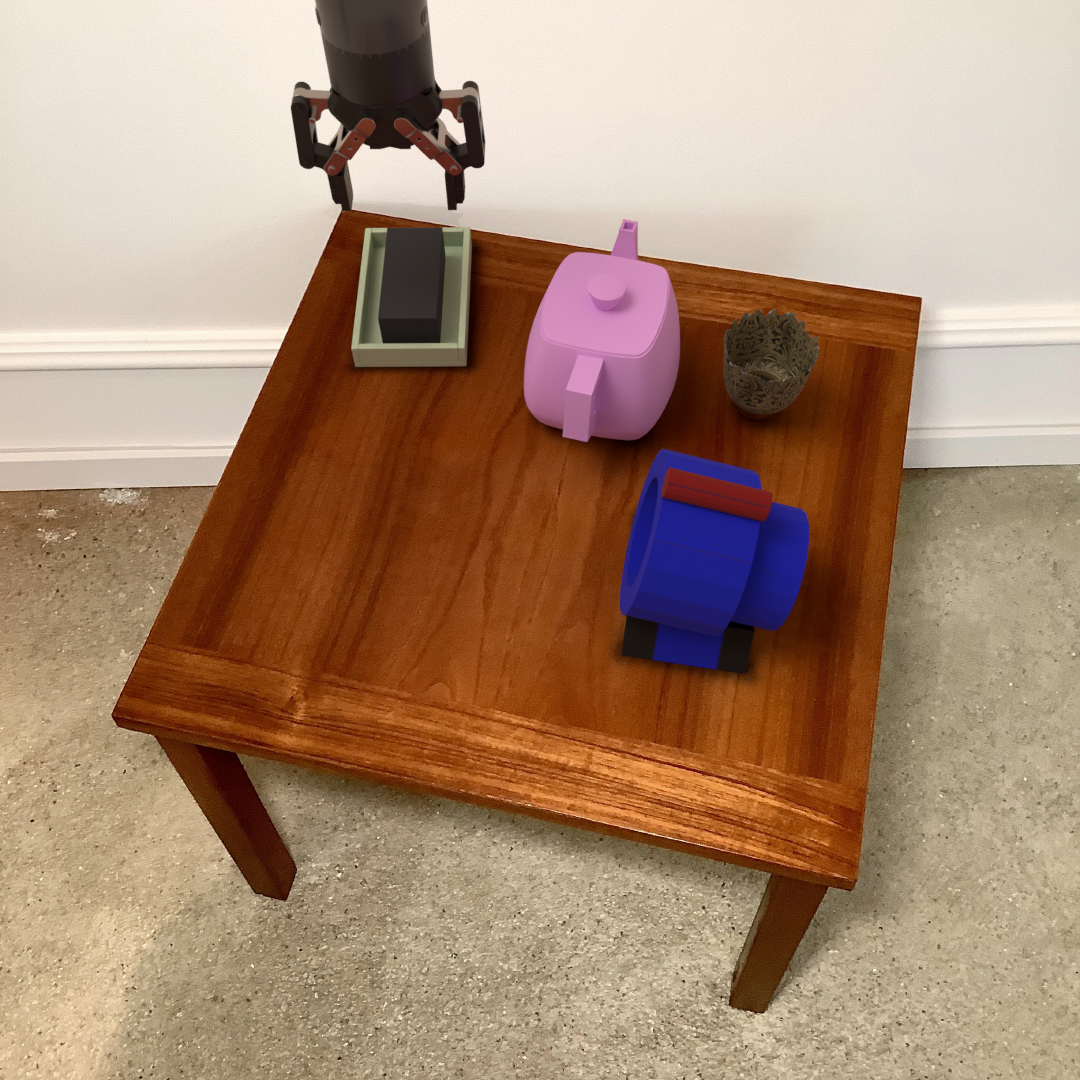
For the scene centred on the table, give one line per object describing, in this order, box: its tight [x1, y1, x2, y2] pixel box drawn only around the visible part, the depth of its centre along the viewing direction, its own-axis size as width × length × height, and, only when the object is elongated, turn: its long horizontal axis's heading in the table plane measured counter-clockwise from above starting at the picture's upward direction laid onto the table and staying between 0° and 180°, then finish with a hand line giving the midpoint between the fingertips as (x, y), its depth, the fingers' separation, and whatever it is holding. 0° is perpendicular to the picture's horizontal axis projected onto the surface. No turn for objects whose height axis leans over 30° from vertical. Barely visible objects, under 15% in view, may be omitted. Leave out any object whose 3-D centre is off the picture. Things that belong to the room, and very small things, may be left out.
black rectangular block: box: [378, 227, 446, 344], centre depth 97 cm, size 11×5×4 cm, turn 0°
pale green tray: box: [350, 226, 473, 368], centre depth 98 cm, size 10×15×2 cm, turn 0°
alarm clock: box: [619, 448, 810, 675], centre depth 76 cm, size 12×12×15 cm
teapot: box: [523, 218, 681, 443], centre depth 88 cm, size 20×12×13 cm, turn 166°
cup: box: [722, 308, 821, 421], centre depth 89 cm, size 8×7×8 cm
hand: (400, 203), depth 89 cm, fingers open, 8 cm apart
